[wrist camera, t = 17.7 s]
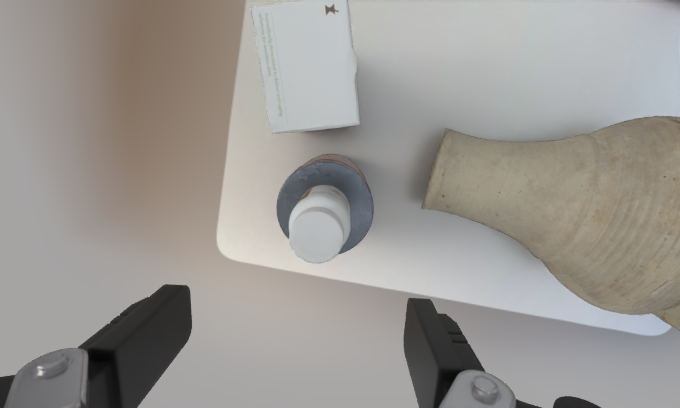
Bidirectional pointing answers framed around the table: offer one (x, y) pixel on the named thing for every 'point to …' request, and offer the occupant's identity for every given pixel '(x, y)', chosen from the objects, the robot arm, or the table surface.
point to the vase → (579, 207)
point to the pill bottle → (319, 224)
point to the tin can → (334, 174)
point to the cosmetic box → (307, 65)
